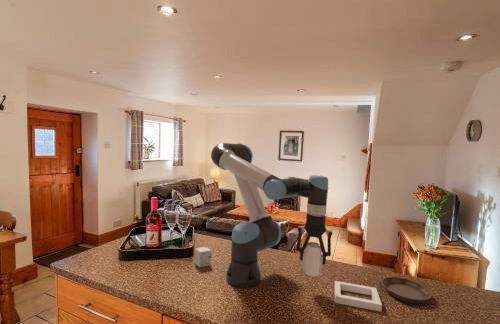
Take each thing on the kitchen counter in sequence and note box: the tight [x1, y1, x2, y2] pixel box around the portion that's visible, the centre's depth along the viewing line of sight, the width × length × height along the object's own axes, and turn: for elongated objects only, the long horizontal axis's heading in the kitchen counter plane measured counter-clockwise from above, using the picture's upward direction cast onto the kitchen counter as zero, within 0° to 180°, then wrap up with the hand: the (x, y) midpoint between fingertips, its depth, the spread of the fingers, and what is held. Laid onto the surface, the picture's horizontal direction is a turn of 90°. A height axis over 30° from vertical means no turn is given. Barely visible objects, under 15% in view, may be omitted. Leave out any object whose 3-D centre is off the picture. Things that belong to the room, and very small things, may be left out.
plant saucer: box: [381, 276, 432, 304], centre depth 112 cm, size 18×18×3 cm
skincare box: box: [194, 246, 212, 268], centre depth 131 cm, size 6×6×7 cm
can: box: [303, 241, 322, 278], centre depth 110 cm, size 6×6×12 cm
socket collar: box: [334, 280, 383, 313], centre depth 106 cm, size 16×13×2 cm
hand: (311, 269), depth 111 cm, fingers closed on can, 6 cm apart
